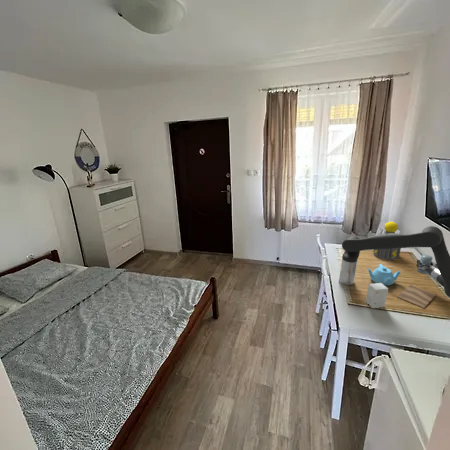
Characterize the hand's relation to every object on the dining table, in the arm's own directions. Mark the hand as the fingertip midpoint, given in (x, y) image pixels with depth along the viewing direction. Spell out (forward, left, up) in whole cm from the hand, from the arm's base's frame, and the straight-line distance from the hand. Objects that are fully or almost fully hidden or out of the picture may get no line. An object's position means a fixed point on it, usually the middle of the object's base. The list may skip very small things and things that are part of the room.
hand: (423, 261), depth 162 cm
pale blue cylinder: (-2, -2, -6) cm, 7 cm away
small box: (-43, +7, -18) cm, 47 cm away
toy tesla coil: (+30, +32, -18) cm, 47 cm away
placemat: (-15, -5, -18) cm, 24 cm away
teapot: (-13, +16, -18) cm, 28 cm away
